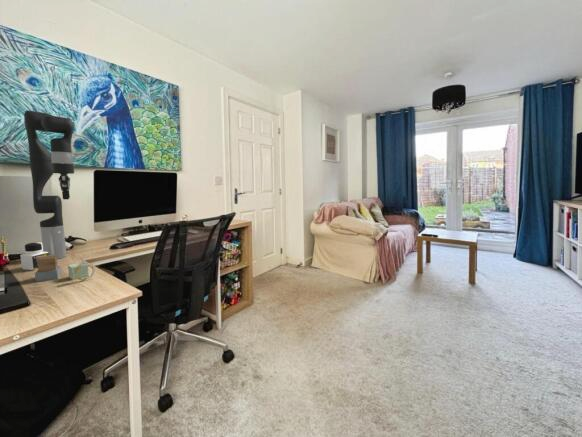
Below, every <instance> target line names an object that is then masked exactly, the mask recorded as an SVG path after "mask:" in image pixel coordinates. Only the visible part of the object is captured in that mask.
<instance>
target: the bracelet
mask: <svg viewBox="0 0 582 437" xmlns="http://www.w3.org/2000/svg"><path fill="white" fill-rule="evenodd" d="M82 262H83V263H82ZM79 263H80V264H78V265H77V266H76V268H75V270H74V276H75V277H76V278H77V279H76V280H78V281H85V282H86V281H88V280H90V279H91V278H93V277H94V275H95V272H96V269H95V266H94V264H91V263H89V262H88V261H86V262H85V261H81V262H79ZM85 265H87V266H88V267H90V268H91V269H92V272H91V275H89V277H85V278H79V277H77V275H76V273H77V271H78V270H79V269H80V268H81V267H82V266H85Z"/></svg>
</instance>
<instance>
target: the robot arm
mask: <svg viewBox="0 0 582 437" xmlns="http://www.w3.org/2000/svg"><path fill="white" fill-rule="evenodd" d="M23 117H24V118H23V119H24V121H23V122H24V126H25V130H26V136H27V137H26V138H27V142H28V153H29V154H28V155H29V166H30V167H29V168H30V173H31V179H32V180H31V181H32V202H33V203H32V205H33V209H34V212H35V213H36V214H53V215H52V216H51V217H49V218H47V219H46V218H45V219H44V220H41V221H39V228H40V235H41V243H42V245H43V251H42V252H48V253H49V255H56V257H57V260H58V259H63V258H65V257H67V248H66V247H67V246H66V237H65V230H64V229H65V228H64V221H63V220H64V218H63V201H62V199H63V200H70V198H71V196H70V188H71V177H69V176H68V174H70V175H71V174H72V175H73V174H75V165H74V157H73V153H72V137H73V134H74V129H75V124H74V122H73V120H72V119H71V118H68V117H64V116H63V117H62V116H56V115H52V114H49V113H47V112H42V111H41V112H40V111H34V110H25V112H24V114H23ZM37 131H39V132H45V133H54V134H63V137H57V138H51V139H50V141H49V142H50V143H49V144H50V151H49V150H48V149H47V148H46V147H45V145H44V144H43V143H42V142H41V140H40V138H39V136H38V134H37V133H36V132H37ZM54 174H59V175H60V176H59V177H58V183H59V187H60V190H61V194H62V198H61V197H60V196H59V195H43V191H44V188H45V186H46V184H47V183H48V181H49V180H50V179H51V178H52V176H53V175H54Z"/></svg>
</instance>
